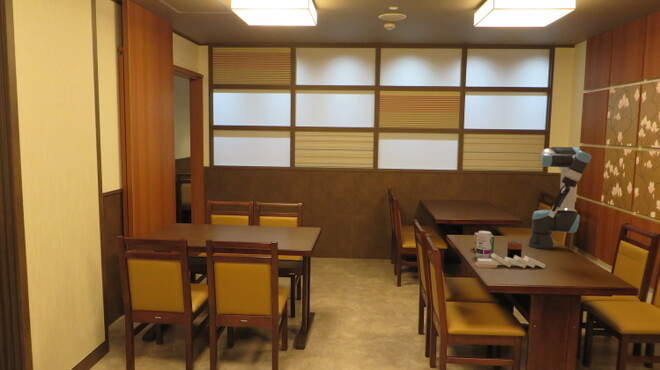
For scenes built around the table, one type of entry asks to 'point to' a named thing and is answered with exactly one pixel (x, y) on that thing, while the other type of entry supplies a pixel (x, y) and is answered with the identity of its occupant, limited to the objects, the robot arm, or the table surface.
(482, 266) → the domino
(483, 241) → the supplement can
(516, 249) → the battery
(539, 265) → the domino
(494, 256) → the domino
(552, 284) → the table surface
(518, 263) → the domino
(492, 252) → the puzzle cube
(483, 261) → the domino
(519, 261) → the domino
